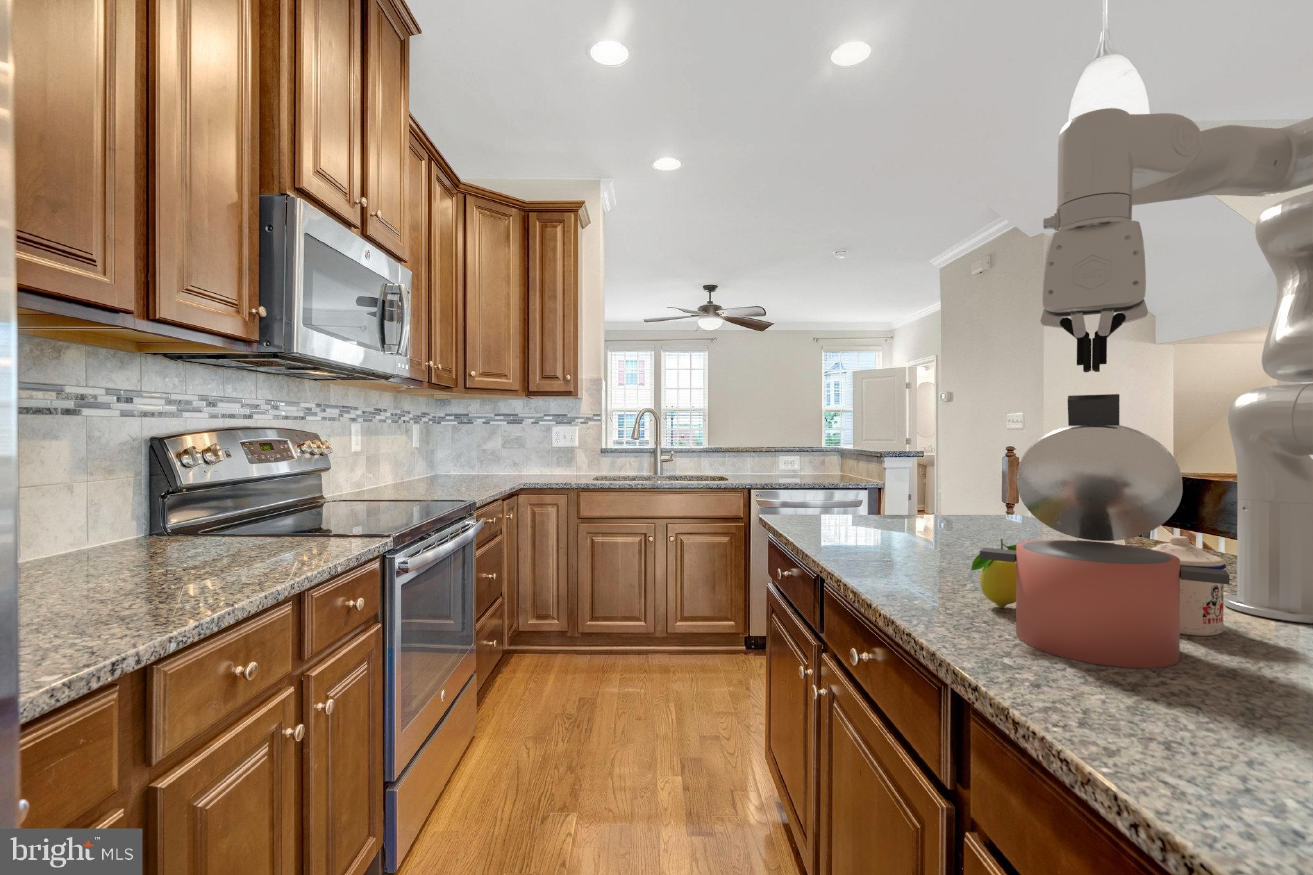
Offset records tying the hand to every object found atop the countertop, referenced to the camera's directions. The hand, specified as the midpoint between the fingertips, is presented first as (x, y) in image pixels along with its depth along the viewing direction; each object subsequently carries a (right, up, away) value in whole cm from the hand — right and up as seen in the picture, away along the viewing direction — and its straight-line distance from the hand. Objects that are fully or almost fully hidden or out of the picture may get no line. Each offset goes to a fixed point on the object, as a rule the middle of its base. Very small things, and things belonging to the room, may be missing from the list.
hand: (1091, 370), depth 77 cm
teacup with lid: (+16, -33, +6) cm, 37 cm away
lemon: (-3, -33, +14) cm, 36 cm away
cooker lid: (+1, -13, +1) cm, 13 cm away
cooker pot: (-1, -33, -1) cm, 33 cm away
